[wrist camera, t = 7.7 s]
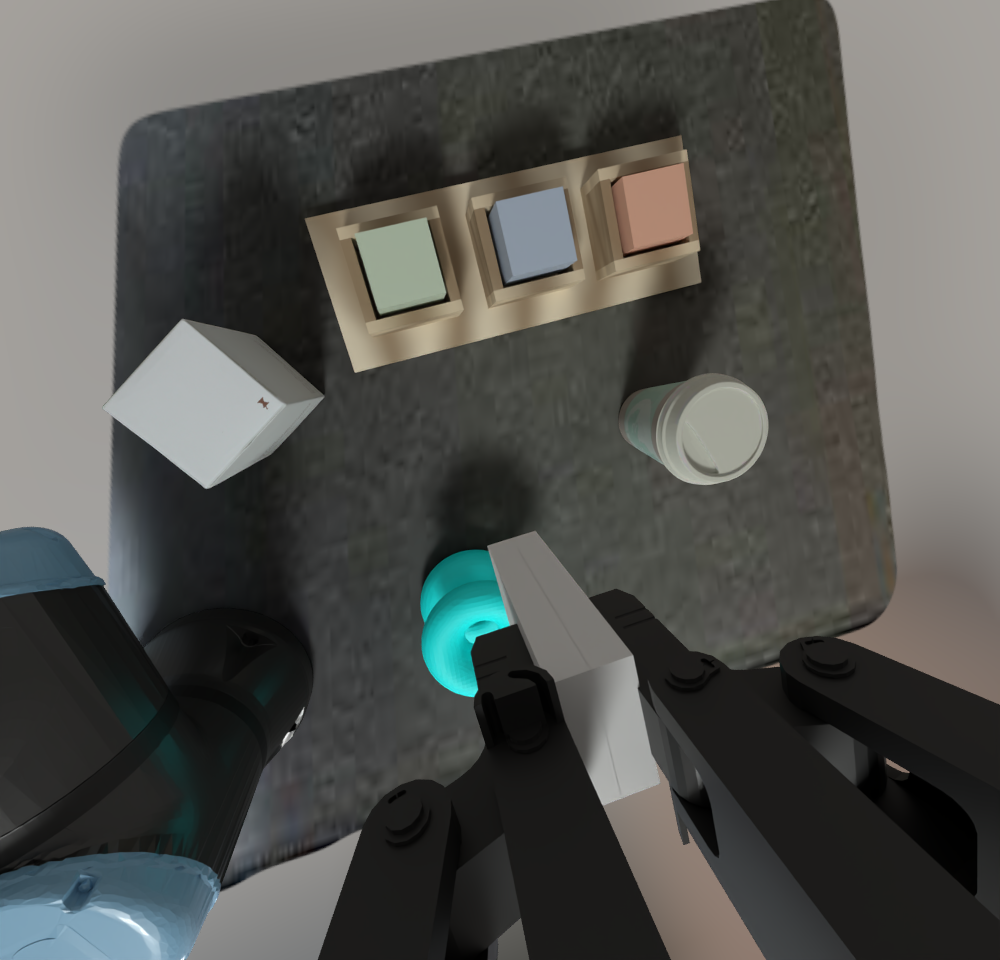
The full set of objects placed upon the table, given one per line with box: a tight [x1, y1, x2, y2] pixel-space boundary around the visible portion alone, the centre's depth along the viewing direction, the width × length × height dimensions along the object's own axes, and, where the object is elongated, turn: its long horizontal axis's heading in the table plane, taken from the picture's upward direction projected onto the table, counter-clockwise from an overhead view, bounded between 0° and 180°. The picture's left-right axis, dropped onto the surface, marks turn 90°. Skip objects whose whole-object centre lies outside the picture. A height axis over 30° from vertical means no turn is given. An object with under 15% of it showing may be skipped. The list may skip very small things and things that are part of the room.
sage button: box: [355, 217, 446, 316], centre depth 35 cm, size 5×5×4 cm
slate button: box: [487, 186, 577, 286], centre depth 36 cm, size 5×5×4 cm
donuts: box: [420, 550, 510, 697], centre depth 42 cm, size 10×10×10 cm
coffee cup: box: [619, 373, 768, 485], centre depth 41 cm, size 8×8×12 cm
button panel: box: [305, 135, 701, 373], centre depth 39 cm, size 32×12×5 cm, turn 104°
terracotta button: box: [611, 163, 693, 258], centre depth 38 cm, size 5×5×4 cm
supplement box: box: [102, 319, 324, 489], centre depth 34 cm, size 7×7×13 cm
